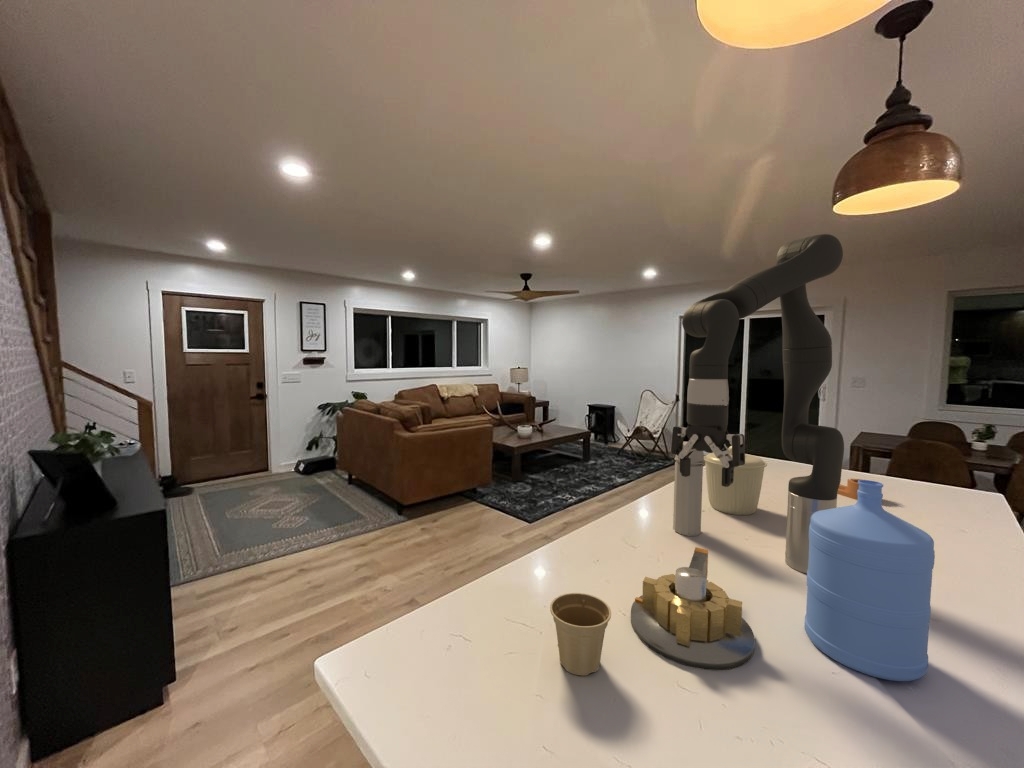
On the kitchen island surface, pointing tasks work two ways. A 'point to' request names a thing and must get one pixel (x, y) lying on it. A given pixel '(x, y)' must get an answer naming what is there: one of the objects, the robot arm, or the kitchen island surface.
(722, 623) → the segmented ring on plate
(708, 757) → the kitchen island surface
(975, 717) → the kitchen island surface
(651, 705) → the kitchen island surface
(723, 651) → the housing
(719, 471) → the canister
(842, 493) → the bracket
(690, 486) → the water bottle
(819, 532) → the water jug
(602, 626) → the flower pot
